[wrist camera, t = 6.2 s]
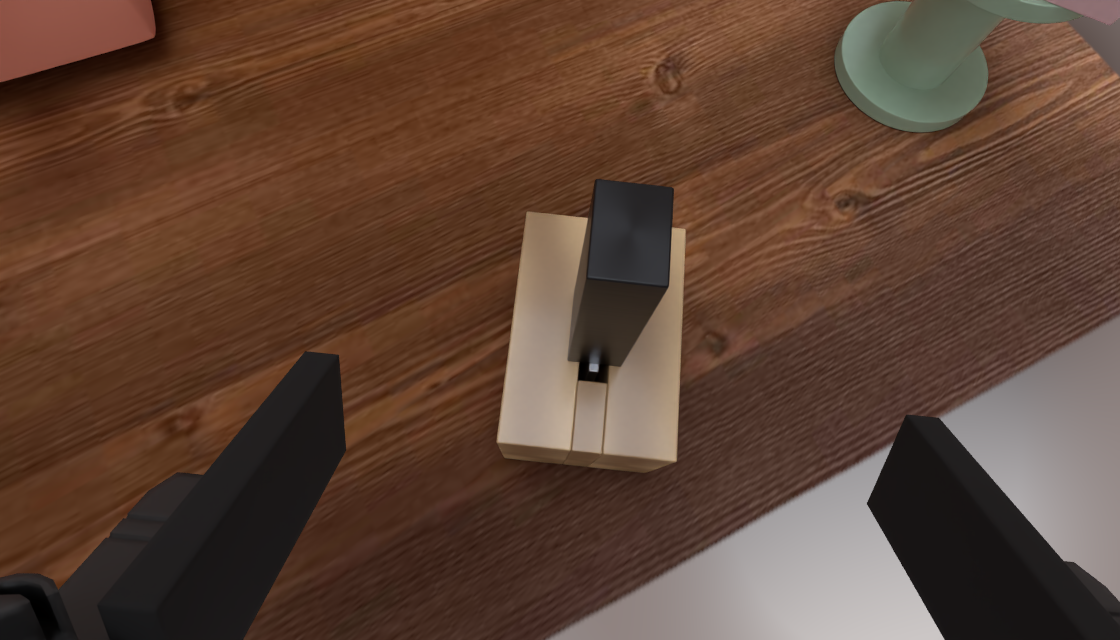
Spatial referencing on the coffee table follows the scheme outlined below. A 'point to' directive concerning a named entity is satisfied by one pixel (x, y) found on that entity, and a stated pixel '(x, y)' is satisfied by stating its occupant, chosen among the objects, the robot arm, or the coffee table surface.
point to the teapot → (67, 31)
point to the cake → (1093, 9)
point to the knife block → (552, 381)
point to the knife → (619, 272)
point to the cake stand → (926, 57)
